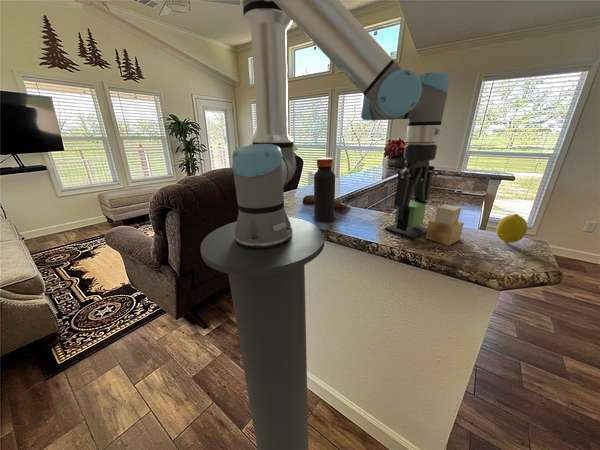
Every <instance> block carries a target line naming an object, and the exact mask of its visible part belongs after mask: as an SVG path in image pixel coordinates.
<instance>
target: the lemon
mask: <svg viewBox="0 0 600 450" xmlns="http://www.w3.org/2000/svg"><path fill="white" fill-rule="evenodd" d="M527 230H528V224H527V221H526V219H525V218H523V217H522V216H521V215H519V214H518V213H513V214H508V215H505V216H504V217H502V218H501V219H500V220H499V222H498V223H497V226H496V235H497V237H498V238H499V239H500V240H501V241H503V242H504V244H511V243H517V242H519V241H521V240H522V239H523V238H524V237H525V236H526V233H527ZM501 234H502V235H501Z"/></svg>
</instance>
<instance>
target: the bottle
mask: <svg viewBox="0 0 600 450" xmlns="http://www.w3.org/2000/svg"><path fill="white" fill-rule="evenodd" d="M333 163H334V159H333V158H332V157H318V158H316V166H317V167H316V168H317V171H316V172H315V173H314V175H313V195H314V205H313V217H314V218H313V219H314V220H315V221H317V222H322V223H327V222H332V221H333V220H334V219H335V210H334V203H335V199H336V198H335V197H336V174H335V173H334V171H333V170H332V168H333Z"/></svg>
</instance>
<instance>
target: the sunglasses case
mask: <svg viewBox="0 0 600 450" xmlns="http://www.w3.org/2000/svg"><path fill="white" fill-rule="evenodd" d="M302 204H303V205H310V206H314V194H313V195H312V194H311V195H310V194H309V195H305V196H304V197H303V199H302ZM350 209H351V207H350V206H348V205H347V204H346V203H343V202H340V200H338V199H336V198H335V203H334V211H338V212H339V213H341V214H343V213H345V212H347V211H348V210H350Z"/></svg>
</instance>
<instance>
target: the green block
mask: <svg viewBox="0 0 600 450" xmlns="http://www.w3.org/2000/svg"><path fill="white" fill-rule="evenodd" d="M426 207H427V204H424V203H420V202H415V200H412V199H411V200H410V203H409V206H408V208H409V209H410V211H409V218H408V224H407V227H410V228H413V227H416V226H418V225H419V226H421V225H423V223H424V219H425V214H426ZM395 210H396V211H395V217H394V224H397V221H398V213H399V207H396V208H395Z"/></svg>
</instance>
